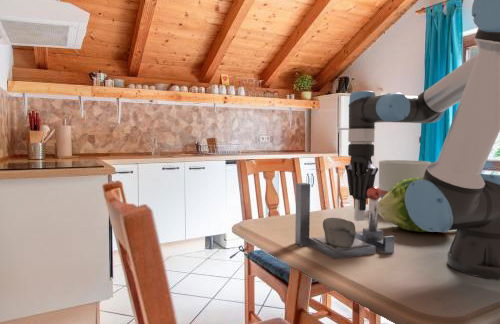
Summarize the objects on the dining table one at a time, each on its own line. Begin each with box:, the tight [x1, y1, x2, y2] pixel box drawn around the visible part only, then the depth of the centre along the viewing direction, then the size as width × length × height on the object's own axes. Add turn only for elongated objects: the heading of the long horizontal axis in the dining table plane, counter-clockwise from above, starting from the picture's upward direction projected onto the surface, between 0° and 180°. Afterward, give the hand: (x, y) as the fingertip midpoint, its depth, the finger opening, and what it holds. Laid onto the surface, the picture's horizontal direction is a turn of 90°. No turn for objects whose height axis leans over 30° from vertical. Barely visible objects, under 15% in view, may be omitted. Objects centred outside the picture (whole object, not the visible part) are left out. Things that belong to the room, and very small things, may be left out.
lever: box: [362, 185, 384, 239], centre depth 103 cm, size 4×4×15 cm
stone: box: [322, 217, 357, 248], centre depth 100 cm, size 9×9×10 cm
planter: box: [378, 159, 432, 200], centre depth 155 cm, size 20×20×21 cm
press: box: [294, 182, 395, 260], centre depth 102 cm, size 17×22×18 cm
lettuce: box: [378, 178, 429, 233], centre depth 121 cm, size 19×23×18 cm
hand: (359, 220), depth 110 cm, fingers closed
